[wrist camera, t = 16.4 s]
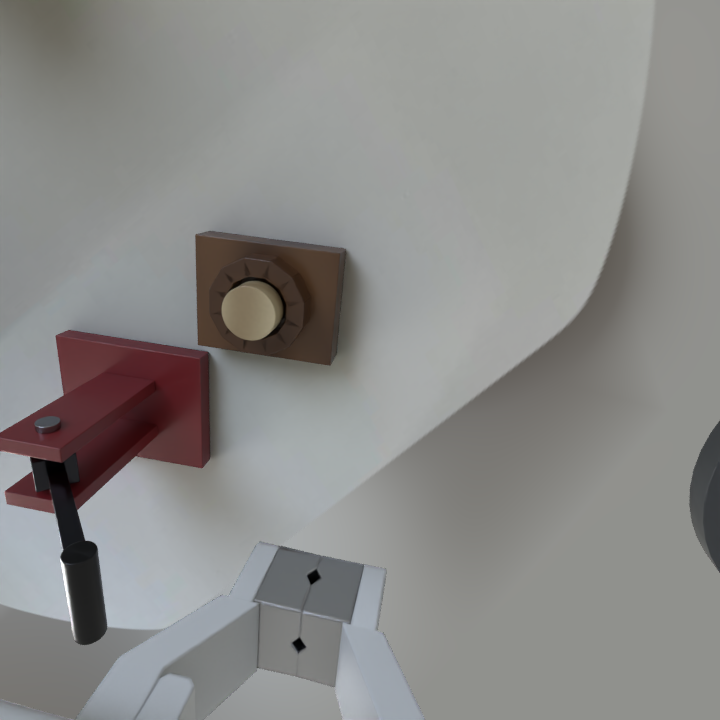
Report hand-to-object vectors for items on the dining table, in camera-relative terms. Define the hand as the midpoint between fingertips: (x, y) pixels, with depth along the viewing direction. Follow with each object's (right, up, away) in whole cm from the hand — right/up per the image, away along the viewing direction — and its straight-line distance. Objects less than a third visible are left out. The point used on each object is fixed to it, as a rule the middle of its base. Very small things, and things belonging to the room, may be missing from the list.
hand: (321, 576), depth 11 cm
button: (-6, +8, +21) cm, 23 cm away
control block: (-5, +10, +24) cm, 27 cm away
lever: (-15, -4, +17) cm, 23 cm away
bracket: (-17, +2, +29) cm, 34 cm away
